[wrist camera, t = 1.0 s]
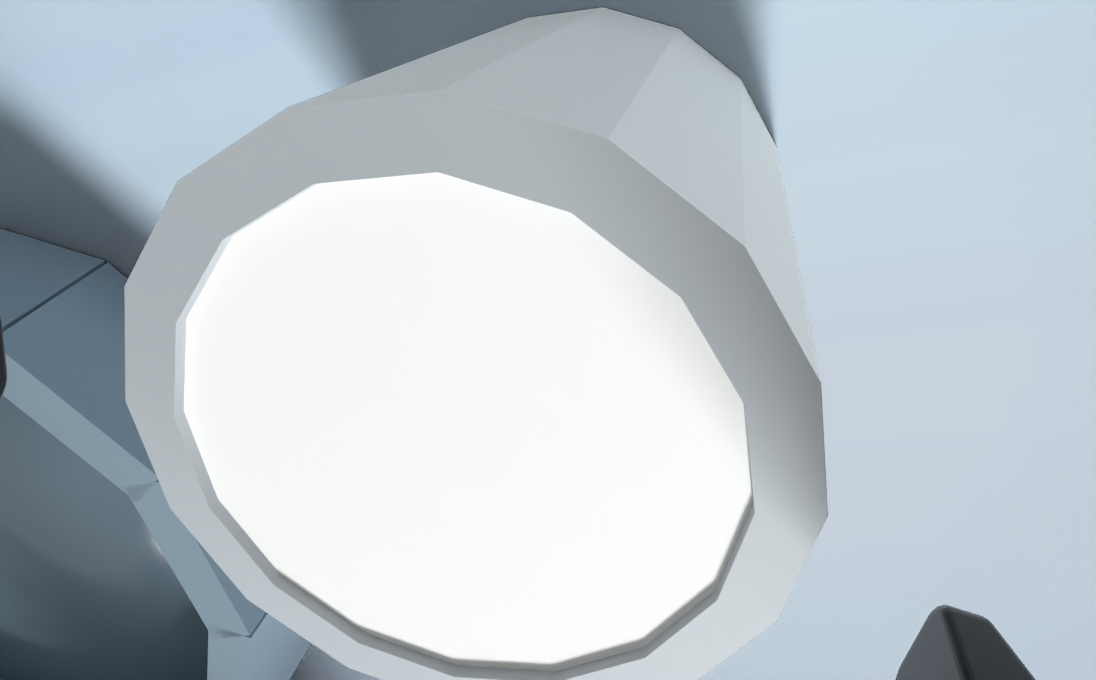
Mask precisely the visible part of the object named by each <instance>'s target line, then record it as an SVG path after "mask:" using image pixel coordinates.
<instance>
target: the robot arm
mask: <svg viewBox="0 0 1096 680" xmlns="http://www.w3.org/2000/svg"><path fill="white" fill-rule="evenodd" d="M6 382H7V367H6V357H5V347H4V338H3V328H2V320H1V316H0V398H1V396H2V394H3V393H4V390H5V387H6ZM896 680H1035V678H1034V677H1033V676H1032V674H1031V673H1030V672H1029V671H1028V669H1027V668H1026V667H1025V665H1024V664H1023V663H1022V662H1021V660H1020V659H1019V658H1018V656H1017V655H1016V654H1015V653H1014V651H1013V650H1012V649H1011V647H1010V646H1009V645H1008V643H1007V642H1006V641H1005V640H1004V638H1003V637H1002V636H1001V634H1000V633H999V632H998V631H997V629H996V628H995V627H994V625H993V624H992V623H991V622H990V621H989V620H987V619H986V618H984V617H982V616H980V615H977V614H974V613H970V612H967V611H964V610H961V609H958V608H954V607H951V606H948V605H942V606H938V607H936V608H935V609H934V610H933V611H932V612H931V613H930V615H929V616H928V618H927V620H926V621H925V623H924V625H923V627H922V629H921V630H920V632H919V634H918V636H917V637H916V639H915V641H914V643H913V644H912V646H911V648H910V650H909V652H908V653H907V655H906V657H905V659H904V660H903V662H902V664H901V666H900V668H899V671H898V674H897V677H896Z"/></svg>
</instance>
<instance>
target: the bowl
mask: <svg viewBox="0 0 1096 680" xmlns="http://www.w3.org/2000/svg"><path fill="white" fill-rule="evenodd" d="M127 280H128V279H127V278H126V277H125V276H124V275H123V274H121V273H120V272H119V271H118V270H117V269H116V268H114V267H113V266H112V265H111V264H110V263H106V264H105V260H102V259H99V258H95V257H92V256H89V255H86V254H82V253H79V252H76V251H73V250H69V249H66V248H63V247H59V246H56V245H53V244H50V243H46V242H43V241H40V240H37V239H33V238H30V237H27V236H23V235H20V234H17V233H14V232H10V231H7V230H4V229H1V228H0V316H1V320H2V328H3V338H4V347H5V357H6V367H7V382H6V387H5V390H4V393H3V394H2V396H1V398H0V680H290V678H291V677H292V675H293V673H294V672H295V670H296V668H297V667H298V665H299V663H300V662H301V660H302V658H303V657H304V655H305V653H306V652H307V650H308V648H309V646H310V645H311V643H310V642H309V641H307V640H306V639H304V638H303V637H302V636H300V635H299V634H297V633H296V632H294V631H293V630H291V629H290V628H288V627H287V626H285V625H284V624H282V623H281V622H280V621H278V620H277V619H275V618H274V617H272V616H271V615H269V614H268V613H266V612H265V611H263V610H262V609H261V608H259V607H258V606H256V605H255V604H253V603H252V602H250V601H249V600H247V599H246V597H245V596H244V595H243V594H242V593H241V591H240V590H239V589H238V588H237V587H236V586H235V584H234V583H233V582H232V581H231V580H230V579H229V577H228V576H227V575H226V574H225V573H224V571H223V570H222V569H221V568H220V567H219V566H218V564H217V563H216V562H215V561H214V560H213V558H212V557H211V556H210V555H209V554H208V553H207V551H206V550H205V549H204V548H203V547H202V546H201V544H200V543H199V542H198V541H197V540H196V538H195V537H194V536H193V535H192V534H191V533H190V531H189V530H188V529H187V528H186V527H185V525H184V524H183V523H182V522H181V521H180V520H179V518H178V517H177V516H176V515H175V514H174V513H173V511H172V510H171V509H170V507H169V505H168V502H167V500H166V497H165V495H164V493H163V490H162V488H161V485H160V483H159V481H158V478H157V476H156V473H155V471H154V468H153V466H152V464H151V461H150V459H149V456H148V454H147V452H146V449H145V447H144V444H143V442H142V440H141V437H140V435H139V432H138V430H137V428H136V425H135V423H134V420H133V418H132V416H131V413H130V411H129V408H128V406H127V404H126V401H125V301H124V286H125V284H126V282H127Z"/></svg>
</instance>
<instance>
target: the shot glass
mask: <svg viewBox="0 0 1096 680" xmlns="http://www.w3.org/2000/svg"><path fill="white" fill-rule="evenodd" d="M124 301H125V401H126V404H127V406H128V408H129V411H130V413H131V416H132V418H133V420H134V423H135V425H136V428H137V430H138V432H139V435H140V437H141V440H142V442H143V444H144V447H145V449H146V452H147V454H148V456H149V459H150V461H151V464H152V466H153V468H154V471H155V473H156V476H157V478H158V481H159V483H160V485H161V488H162V490H163V493H164V495H165V497H166V500H167V502H168V505H169V507H170V509H171V510H172V511H173V513H174V514H175V515H176V516H177V517H178V518H179V520H180V521H181V522H182V523H183V524H184V525H185V527H186V528H187V529H188V530H189V531H190V533H191V534H192V535H193V536H194V537H195V538H196V540H197V541H198V542H199V543H200V544H201V546H202V547H203V548H204V549H205V550H206V551H207V553H208V554H209V555H210V556H211V557H212V558H213V560H214V561H215V562H216V563H217V564H218V566H219V567H220V568H221V569H222V570H223V571H224V573H225V574H226V575H227V576H228V577H229V579H230V580H231V581H232V582H233V583H234V584H235V586H236V587H237V588H238V589H239V590H240V591H241V593H242V594H243V595H244V596H245V597H246V599H247V600H249V601H250V602H252V603H253V604H255V605H256V606H258V607H259V608H261V609H262V610H263V611H265V612H266V613H268V614H269V615H271V616H272V617H274V618H275V619H277V620H278V621H280V622H281V623H282V624H284V625H285V626H287V627H288V628H290V629H291V630H293V631H294V632H296V633H297V634H299V635H300V636H302V637H303V638H304V639H306V640H307V641H309V642H310V643H312V644H313V645H315V646H316V647H318V648H319V649H321V650H322V651H323V652H325V653H326V654H328V655H329V656H331V657H332V658H334V659H335V660H337V661H338V662H340V663H341V664H343V665H344V666H345V667H347V668H350V669H353V670H356V671H358V672H361V673H364V674H367V675H370V676H373V677H375V678H378V679H381V680H698V679H699V678H701V677H702V676H703V675H705V674H706V673H707V672H709V671H710V670H711V669H713V668H714V667H715V666H717V665H718V664H719V663H721V662H722V661H723V660H725V659H726V658H728V657H729V656H730V655H732V654H733V653H734V652H736V651H737V650H738V649H740V648H741V647H742V646H744V645H745V644H746V643H748V642H749V641H750V640H752V639H753V638H754V637H756V636H757V635H758V634H760V633H761V632H762V631H764V630H765V629H766V628H768V627H769V626H770V625H772V624H773V623H774V622H776V621H777V619H778V617H779V615H780V613H781V611H782V609H783V607H784V605H785V603H786V601H787V599H788V597H789V595H790V593H791V591H792V589H793V586H794V584H795V582H796V580H797V578H798V576H799V574H800V572H801V570H802V568H803V566H804V564H805V562H806V560H807V558H808V556H809V554H810V551H811V549H812V547H813V545H814V543H815V541H816V539H817V537H818V535H819V533H820V531H821V529H822V527H823V525H824V523H825V521H826V519H827V517H828V507H827V488H826V469H825V450H824V431H823V411H822V392H821V380H820V375H819V370H818V364H817V359H816V354H815V348H814V343H813V338H812V333H811V327H810V322H809V317H808V311H807V306H806V301H805V296H804V290H803V285H802V280H801V274H800V269H799V264H798V259H797V253H796V248H795V243H794V237H793V232H792V227H791V221H790V216H789V211H788V206H787V200H786V195H785V190H784V184H783V179H782V174H781V169H780V163H779V158H778V153H777V147H776V145H775V143H774V141H773V139H772V137H771V135H770V133H769V132H768V130H767V128H766V126H765V124H764V122H763V120H762V118H761V116H760V114H759V113H758V111H757V109H756V107H755V105H754V103H753V101H752V99H751V97H750V95H749V94H748V92H747V90H746V88H745V86H744V84H743V82H742V80H741V79H740V78H739V77H738V76H737V75H736V74H734V73H733V72H732V71H731V70H729V69H728V68H727V67H726V66H724V65H723V64H722V63H721V62H719V61H718V60H717V59H716V58H714V57H713V56H712V55H711V54H710V53H708V52H707V51H706V50H705V49H703V48H702V47H701V46H700V45H698V44H697V43H696V42H695V41H693V40H692V39H691V38H690V37H688V36H687V35H686V34H685V33H684V32H682V31H681V30H680V29H678V28H674V27H671V26H667V25H664V24H660V23H657V22H653V21H650V20H646V19H643V18H639V17H636V16H632V15H629V14H625V13H621V12H618V11H614V10H611V9H607V8H604V7H601V8H594V9H586V10H579V11H572V12H565V13H557V14H550V15H543V16H536V17H528V18H525V19H522V20H520V21H517V22H514V23H512V24H509V25H506V26H504V27H501V28H498V29H496V30H493V31H490V32H488V33H485V34H482V35H480V36H477V37H474V38H472V39H469V40H466V41H464V42H461V43H458V44H456V45H453V46H450V47H448V48H445V49H442V50H440V51H437V52H434V53H432V54H429V55H426V56H424V57H421V58H418V59H416V60H413V61H410V62H408V63H405V64H402V65H400V66H397V67H394V68H392V69H389V70H386V71H384V72H381V73H378V74H376V75H373V76H370V77H368V78H365V79H362V80H360V81H357V82H354V83H352V84H349V85H346V86H344V87H341V88H338V89H336V90H333V91H330V92H328V93H325V94H322V95H320V96H317V97H314V98H312V99H309V100H306V101H304V102H301V103H298V104H296V105H293V106H290V107H288V108H286V109H284V110H283V111H281V112H280V113H278V114H277V115H275V116H274V117H272V118H271V119H269V120H268V121H266V122H265V123H264V124H262V125H261V126H259V127H258V128H256V129H255V130H253V131H252V132H250V133H249V134H247V135H246V136H244V137H243V138H241V139H240V140H238V141H237V142H235V143H234V144H232V145H231V146H229V147H228V148H226V149H225V150H223V151H222V152H220V153H219V154H217V155H216V156H214V157H213V158H211V159H210V160H208V161H207V162H205V163H204V164H202V165H201V166H199V167H198V168H196V169H195V170H193V171H192V172H190V173H189V174H187V175H186V176H184V177H183V178H181V179H180V180H178V181H177V183H176V185H175V187H174V189H173V191H172V193H171V195H170V197H169V199H168V201H167V203H166V205H165V207H164V209H163V211H162V213H161V215H160V217H159V219H158V221H157V222H156V224H155V226H154V228H153V230H152V232H151V234H150V236H149V238H148V240H147V242H146V244H145V246H144V248H143V250H142V252H141V254H140V256H139V258H138V260H137V262H136V264H135V266H134V268H133V270H132V272H131V274H130V276H129V278H128V280H127V282H126V284H125V286H124Z"/></svg>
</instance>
